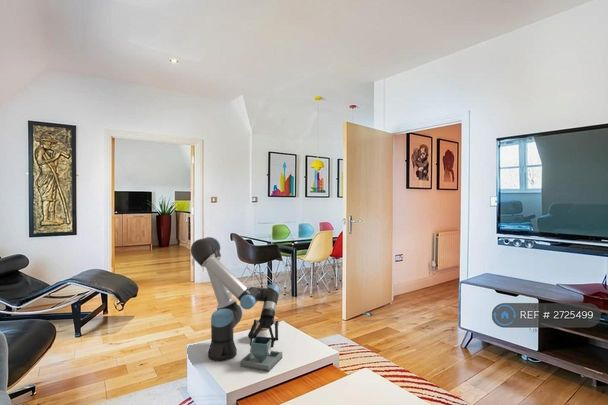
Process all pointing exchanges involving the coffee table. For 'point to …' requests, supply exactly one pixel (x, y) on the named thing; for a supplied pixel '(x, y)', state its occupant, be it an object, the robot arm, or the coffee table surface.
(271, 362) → the tray
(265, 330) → the lidded jar
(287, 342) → the coffee table surface
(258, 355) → the flower pot
